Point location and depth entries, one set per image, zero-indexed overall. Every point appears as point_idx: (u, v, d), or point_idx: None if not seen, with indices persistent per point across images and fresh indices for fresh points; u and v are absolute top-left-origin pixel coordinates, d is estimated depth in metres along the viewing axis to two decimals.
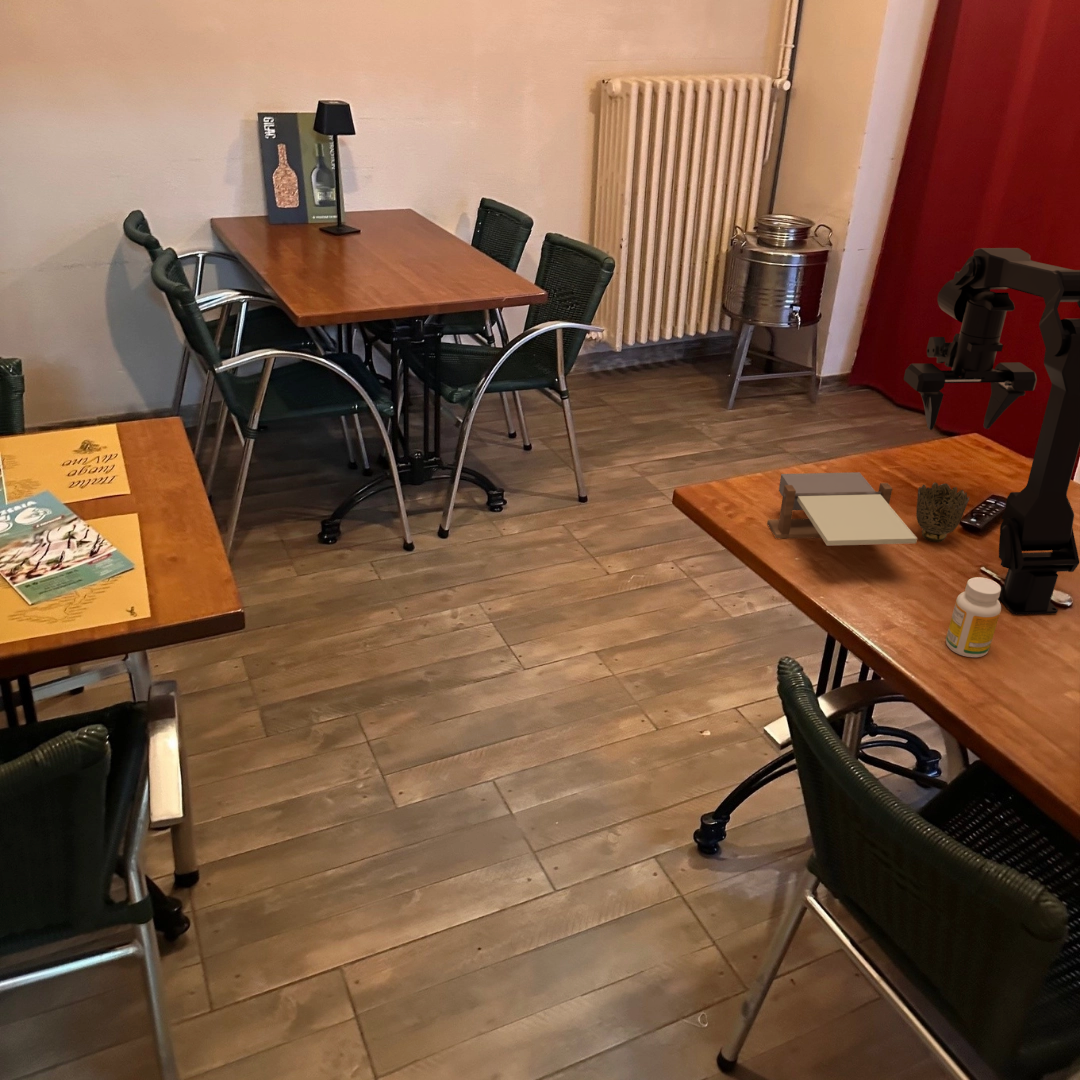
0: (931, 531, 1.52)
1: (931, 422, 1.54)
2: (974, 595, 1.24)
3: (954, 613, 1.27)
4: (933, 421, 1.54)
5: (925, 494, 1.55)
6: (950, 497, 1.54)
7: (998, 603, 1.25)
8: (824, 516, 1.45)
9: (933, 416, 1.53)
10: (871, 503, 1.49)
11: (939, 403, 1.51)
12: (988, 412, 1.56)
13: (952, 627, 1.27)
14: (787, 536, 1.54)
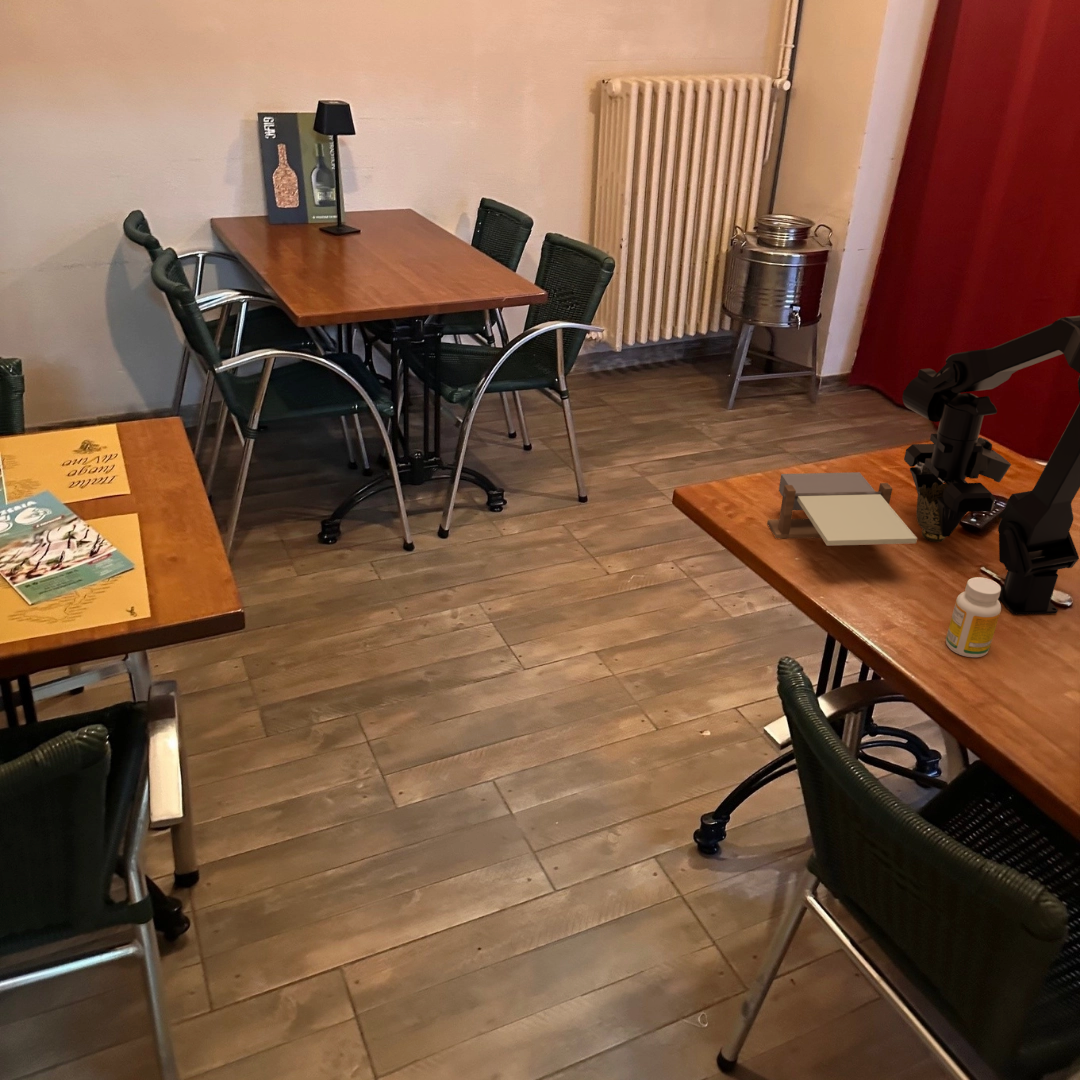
0: (931, 531, 1.52)
1: None
2: (974, 595, 1.24)
3: (954, 613, 1.27)
4: None
5: (925, 494, 1.55)
6: None
7: (998, 603, 1.25)
8: (824, 516, 1.45)
9: None
10: (871, 503, 1.49)
11: (917, 484, 1.55)
12: None
13: (952, 627, 1.27)
14: (787, 536, 1.54)
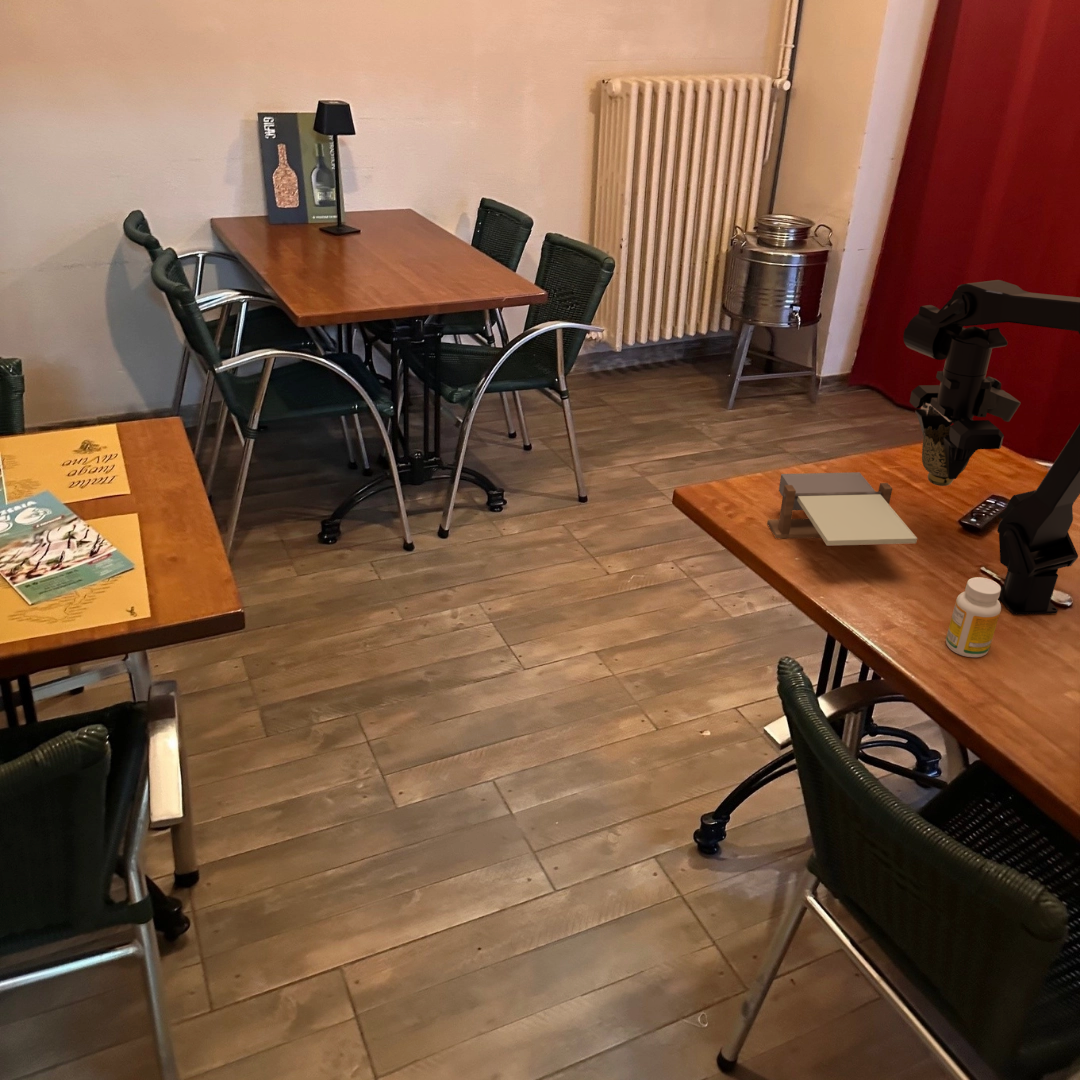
0: (937, 474, 1.46)
1: None
2: (974, 595, 1.24)
3: (954, 613, 1.27)
4: None
5: (931, 436, 1.49)
6: None
7: (998, 603, 1.25)
8: (824, 516, 1.45)
9: None
10: (871, 503, 1.49)
11: (922, 426, 1.49)
12: None
13: (952, 627, 1.27)
14: (787, 536, 1.54)
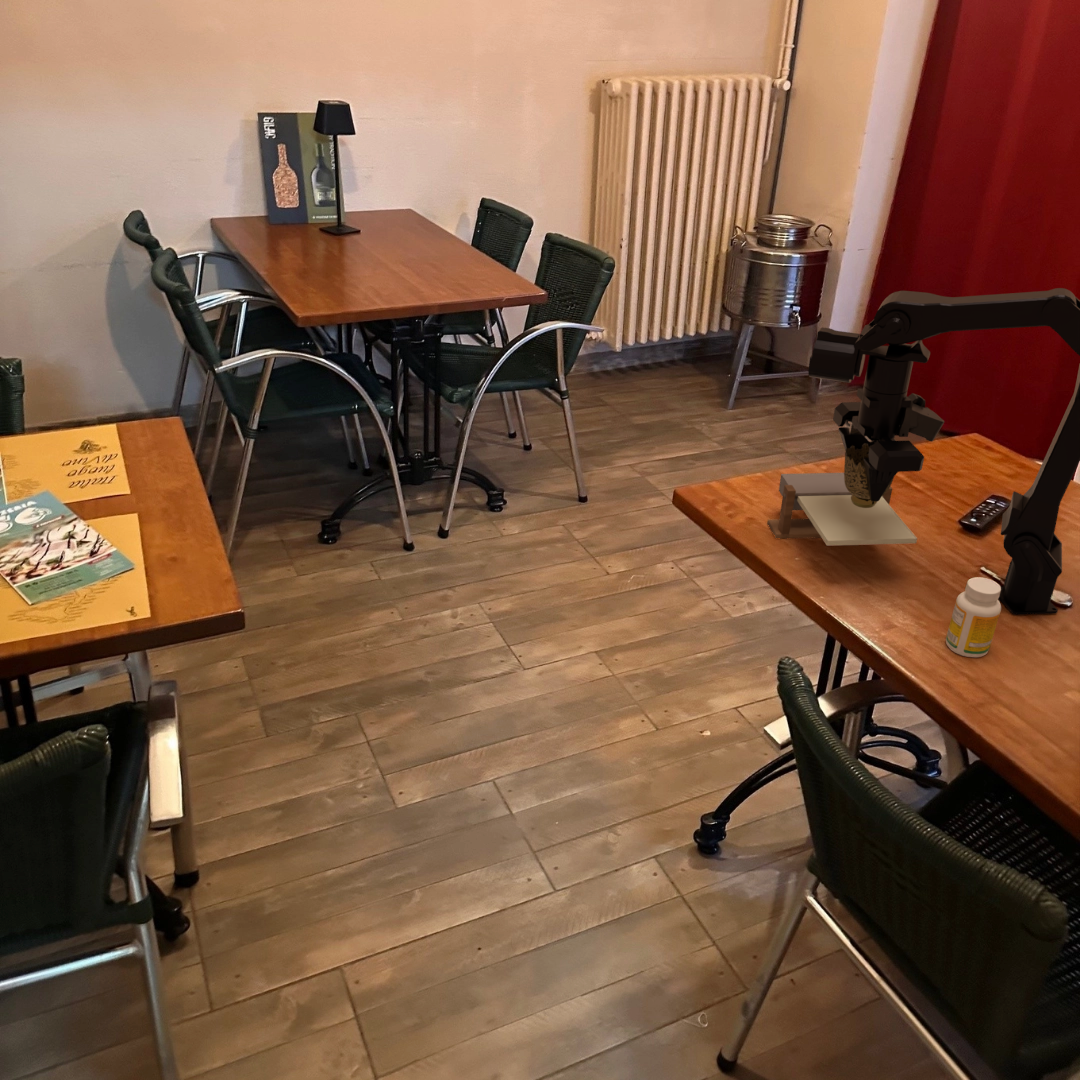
0: (859, 496, 1.39)
1: None
2: (974, 595, 1.24)
3: (954, 613, 1.27)
4: None
5: (854, 456, 1.42)
6: None
7: (998, 603, 1.25)
8: (824, 516, 1.45)
9: None
10: None
11: (845, 445, 1.42)
12: None
13: (952, 627, 1.27)
14: (787, 536, 1.54)
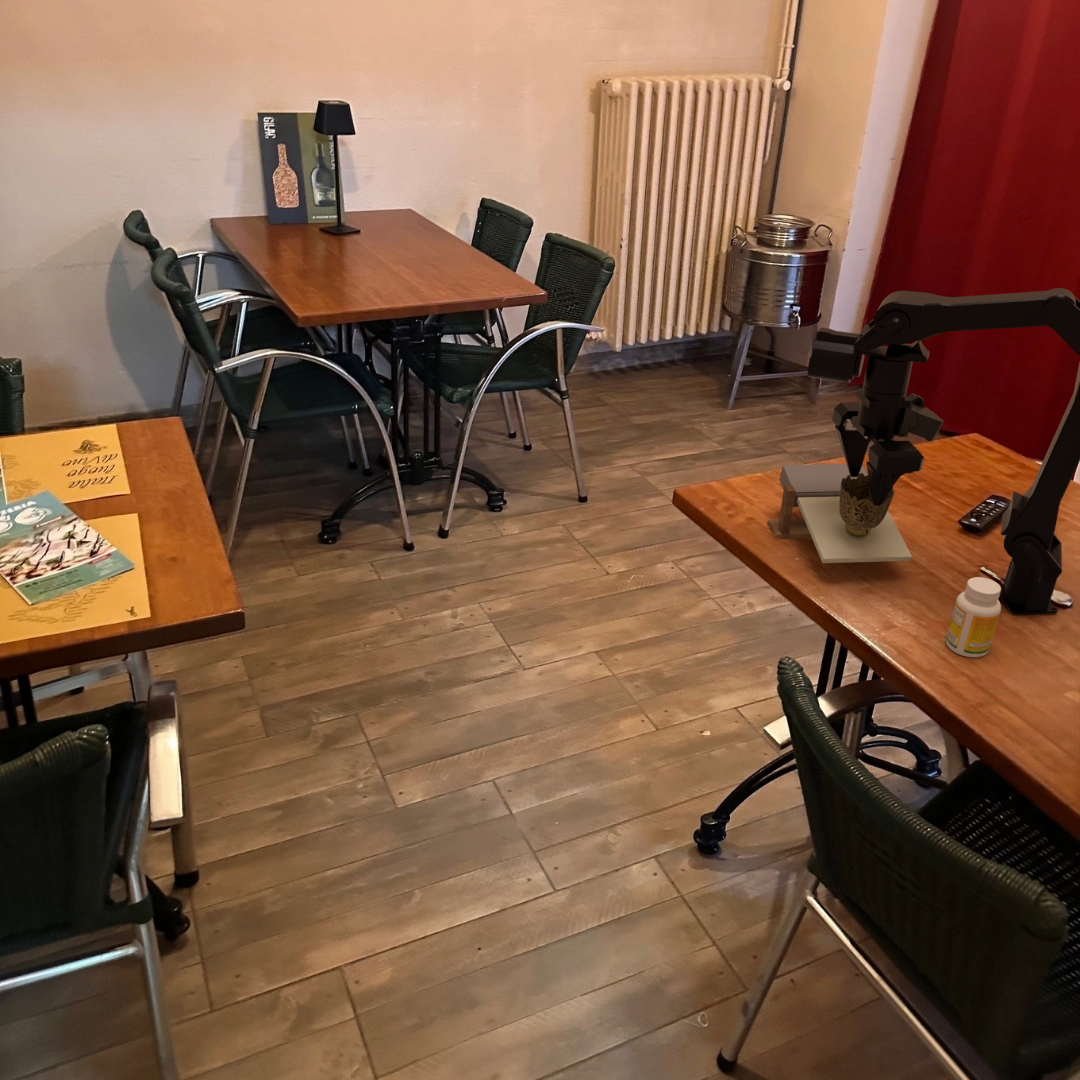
0: (853, 526, 1.41)
1: (847, 466, 1.45)
2: (974, 595, 1.24)
3: (954, 613, 1.27)
4: (848, 465, 1.45)
5: (850, 485, 1.44)
6: None
7: (998, 603, 1.25)
8: (822, 526, 1.46)
9: (845, 458, 1.44)
10: None
11: (842, 442, 1.43)
12: None
13: (952, 627, 1.27)
14: (787, 536, 1.54)
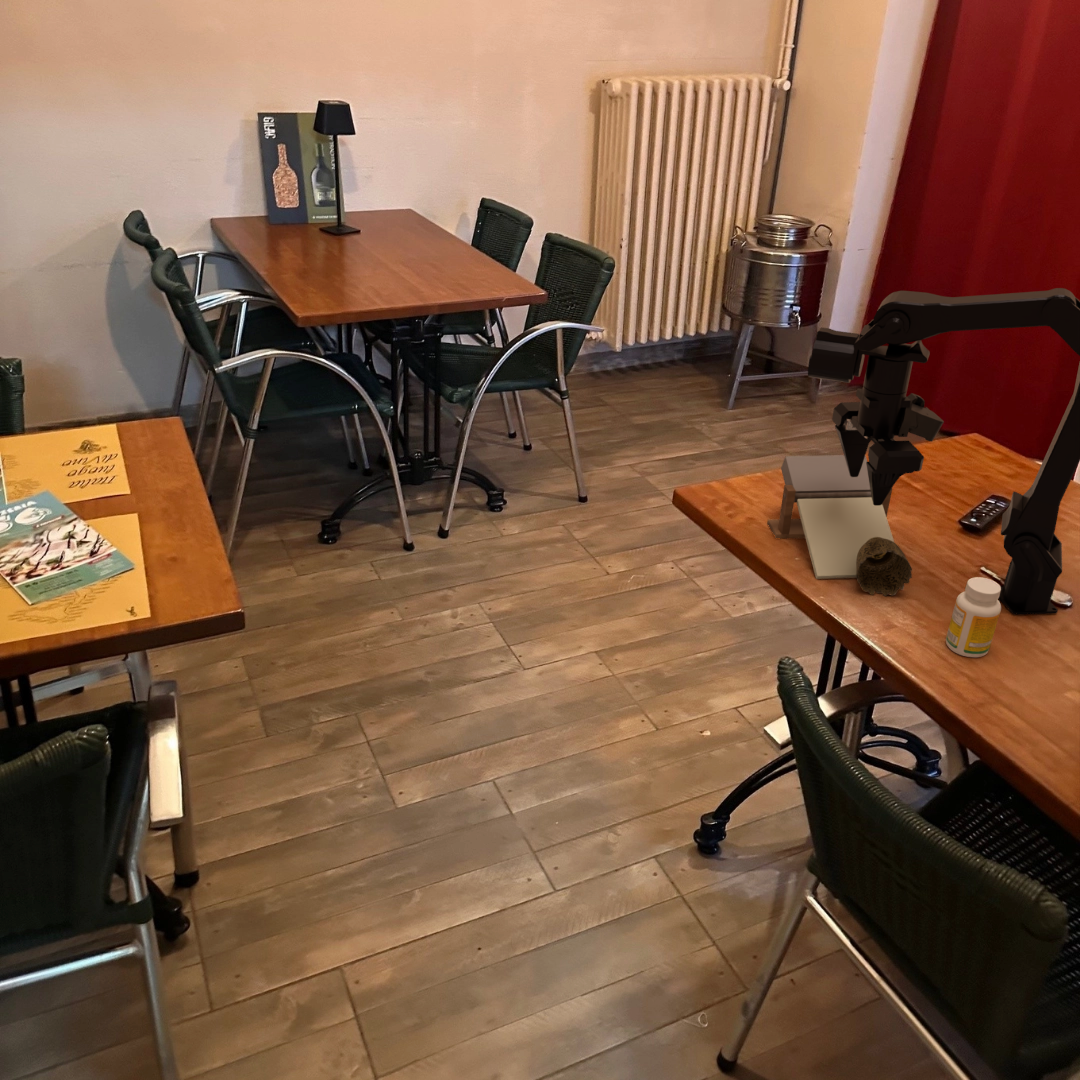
0: None
1: (847, 466, 1.45)
2: (974, 595, 1.24)
3: (954, 613, 1.27)
4: (848, 465, 1.45)
5: None
6: (906, 561, 1.38)
7: (998, 603, 1.25)
8: (819, 535, 1.47)
9: (845, 458, 1.44)
10: (868, 513, 1.50)
11: (842, 442, 1.43)
12: None
13: (952, 627, 1.27)
14: (787, 536, 1.54)
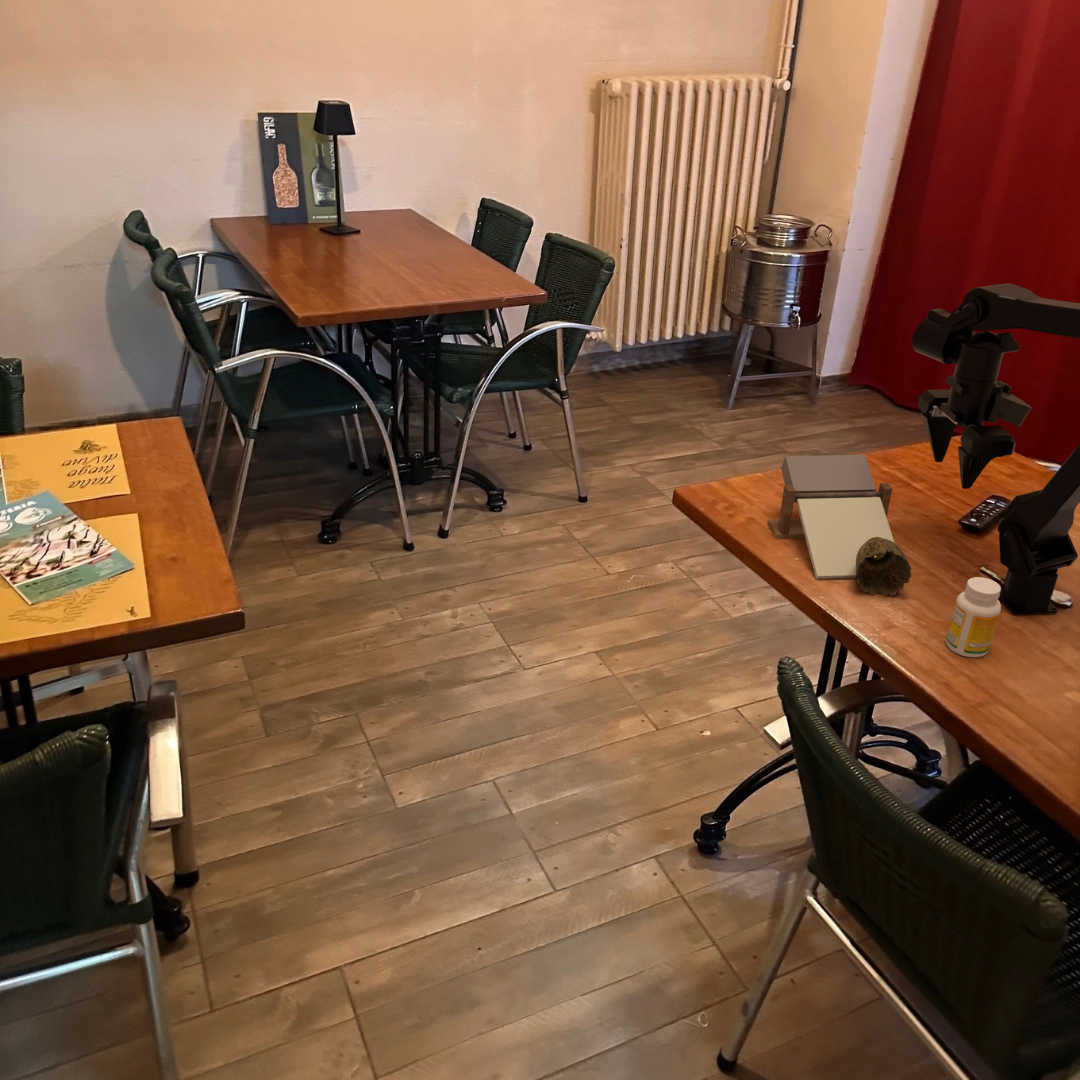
0: None
1: (932, 451, 1.50)
2: (974, 595, 1.24)
3: (954, 613, 1.27)
4: (934, 451, 1.49)
5: None
6: (905, 560, 1.38)
7: (998, 603, 1.25)
8: (819, 535, 1.47)
9: (930, 444, 1.49)
10: (868, 513, 1.50)
11: (928, 428, 1.48)
12: None
13: (952, 627, 1.27)
14: (787, 536, 1.54)
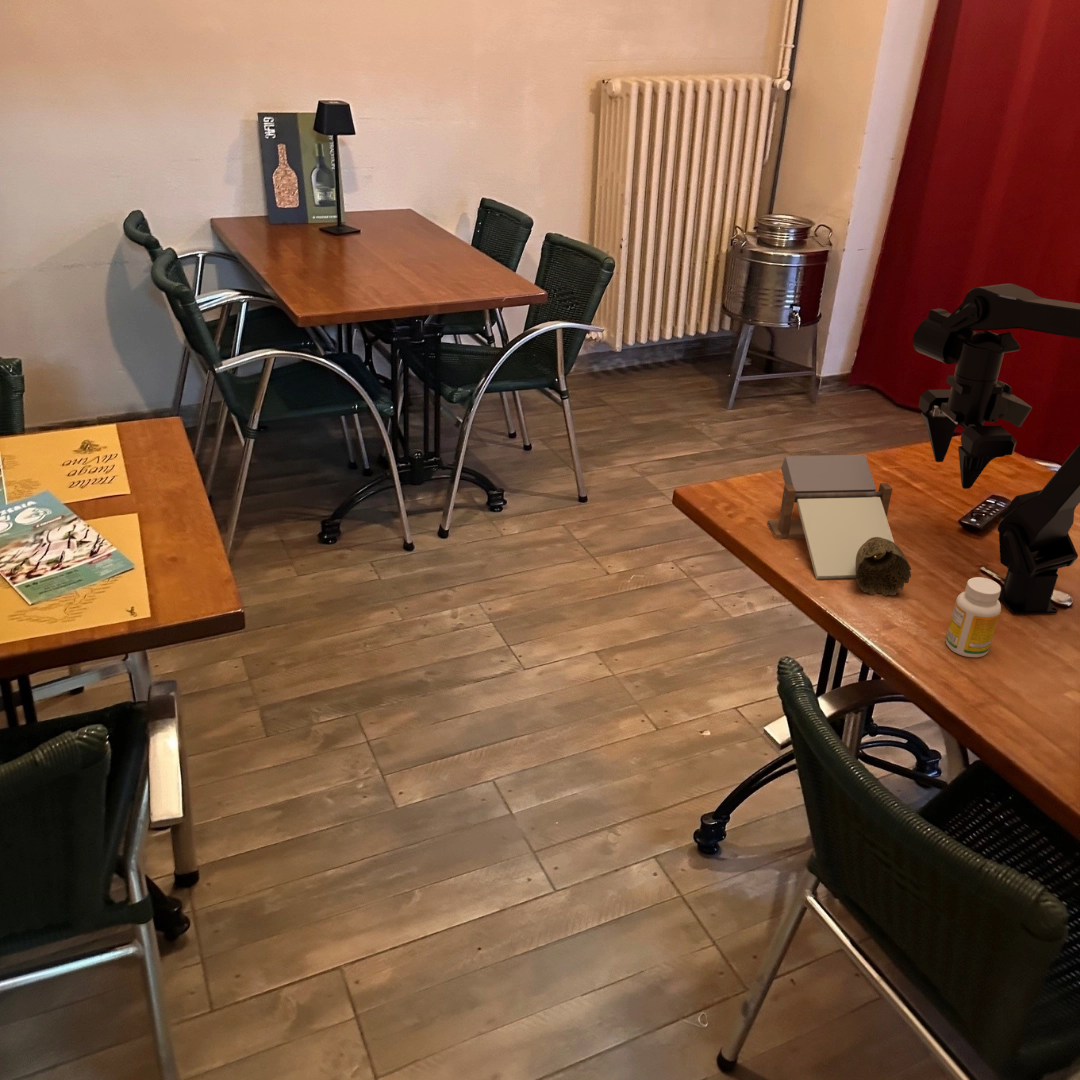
0: None
1: (933, 451, 1.50)
2: (974, 595, 1.24)
3: (954, 613, 1.27)
4: None
5: None
6: (905, 560, 1.38)
7: (998, 603, 1.25)
8: (819, 535, 1.47)
9: (931, 443, 1.49)
10: (868, 513, 1.50)
11: (929, 428, 1.48)
12: None
13: (952, 627, 1.27)
14: (787, 536, 1.54)
